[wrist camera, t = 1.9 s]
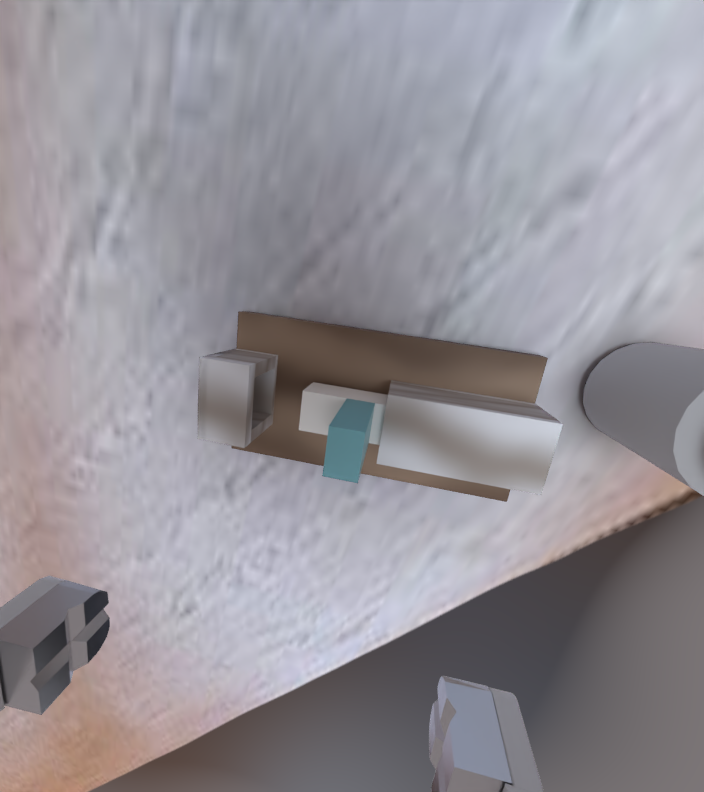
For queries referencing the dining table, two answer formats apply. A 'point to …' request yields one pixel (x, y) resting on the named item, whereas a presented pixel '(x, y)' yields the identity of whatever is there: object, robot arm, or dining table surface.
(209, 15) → the dining table surface
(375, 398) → the white and teal block
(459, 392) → the brown board
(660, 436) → the can
